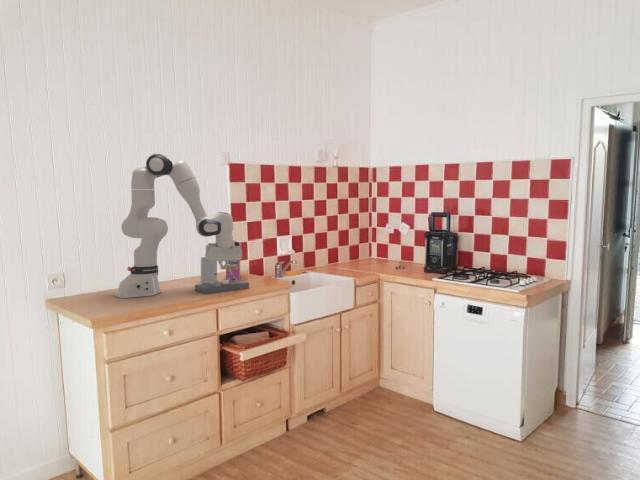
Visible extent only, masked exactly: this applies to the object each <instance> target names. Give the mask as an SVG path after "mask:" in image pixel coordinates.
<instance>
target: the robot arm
mask: <svg viewBox="0 0 640 480" xmlns="http://www.w3.org/2000/svg"><path fill="white" fill-rule="evenodd" d="M163 176H168V177H170V179H171V180H172V182H173V184H174V186H175V189H176V190H177V192H178V193H179V195H180V196H181V197H182V199H183V200H184V201H185V202H186V203H187V205H188V206H189V209H190V210H191V213H192V214H193V217H194V219H195V223H196V224H195V225H196V232H197V233H198V234H199V235H200V236H202V237H203V238H204V237H205V238H207V237H212V236H215V242H212V243H208V244H206V245H205V255H204V257H205V259H206V261H217V262H218V264H219V266H220V268H219V269H220V270H226V269H227V265H228V264H229V261H230V260H240V261H241V260H242V258H243V251H242V250H243V249H242V247H241V246H242V242H240V241H237V240H235V239H234V237H233V231H234V219H233V216H232V214H230V213H228V212H223V211H217V213H215V214H213V215H212V216H208V215H207V213H206V211H205V210H206V209H205V208H204V206H203V204H202V202H201V198H200V196H201V195H200V186H199V183H198V180H197V178H196V175H195V174H194V172H193V170H192V168H191V167H190V166H189V164H188V163H187V162H186V160H181V159H178V160H175V161H171V160H170V158H168V156H166V155H165V154H162V153H153V154H151V155H150V156H149V157H147V159H146V162H145V166H143V167H137V168H135V169H134V170H133V171H132V174H131V180H130V181H131V182H130V187H131V193H130V194H131V204H130V205H131V206H130V210H129V213H128V215H127V216H126V218H125V219H124V220H123V221H122V223H121V232H122V234H123V235H124V236H126V237H129V238H132V239H141V240H140V244H139V246H137V247H136V248H135V249H134V250H133V266H132V267H131V266H127V268H126V269H127V271H129V272H130V274H128V275H127V276H126V277H125V278H124V279H122V280H121V281H120V282H119V286H118V291H115V292H114V293H113V296H114V297H116V298H120V299H129V298H139V297H140V298H141V297H150V296H156V295H157V294H159V293H161V292H162V290H161V288H160V284H159V283H160V282H159V278H158V276H159V265H158V247H159V245H160V242H161V241H162V239H163V238H164V237H166V235H167V234H168V232H169V231H168V230H169V227H168V223H167V222H166V220H165V219H162V218H159V217H155V216H154V217H151V216H148V215H149V212H150V210H152V209H153V208H154V207H155V205H156V194H155V193H156V192H155V180H156V179H157V178H160V177H163ZM233 239H234V240H233ZM223 263H224V265H223Z"/></svg>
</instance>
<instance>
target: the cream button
mask: <svg viewBox="0 0 640 480" xmlns="http://www.w3.org/2000/svg"><path fill="white" fill-rule="evenodd" d="M220 282H221V284H222V285H227V284H229V280H226V279H221V280H220Z"/></svg>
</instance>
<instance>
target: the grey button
mask: <svg viewBox="0 0 640 480" xmlns="http://www.w3.org/2000/svg"><path fill="white" fill-rule="evenodd" d="M207 284H210V285H212V284H216V280H207Z"/></svg>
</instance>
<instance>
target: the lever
mask: <svg viewBox="0 0 640 480" xmlns="http://www.w3.org/2000/svg"><path fill="white" fill-rule="evenodd" d="M227 268H228V269H229V272H230V274H231V280H235V278H234V277H233V275H232V272H231V269H230V268H231V265H230V264H228V265H227Z"/></svg>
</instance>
